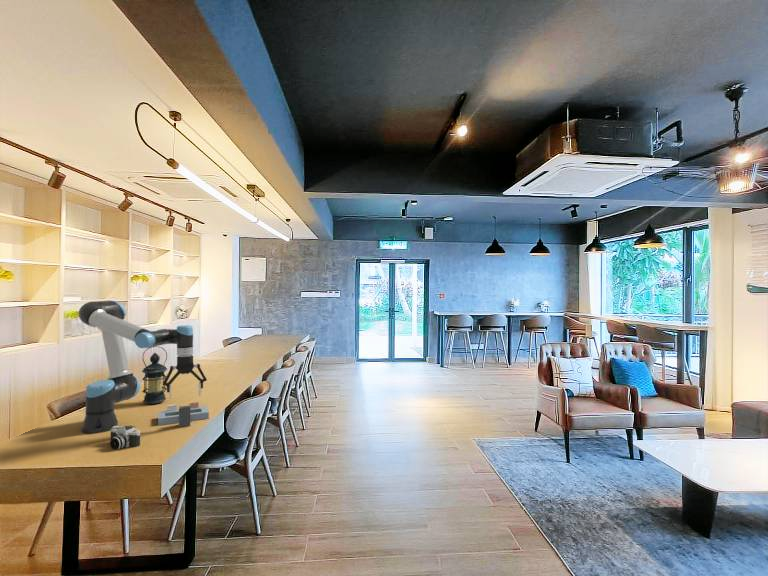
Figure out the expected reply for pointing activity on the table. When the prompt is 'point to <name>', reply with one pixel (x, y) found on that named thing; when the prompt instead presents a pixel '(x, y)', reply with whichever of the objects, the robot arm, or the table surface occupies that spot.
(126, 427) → the camera
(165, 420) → the socket block
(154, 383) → the lantern
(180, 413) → the plug
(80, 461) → the table surface
